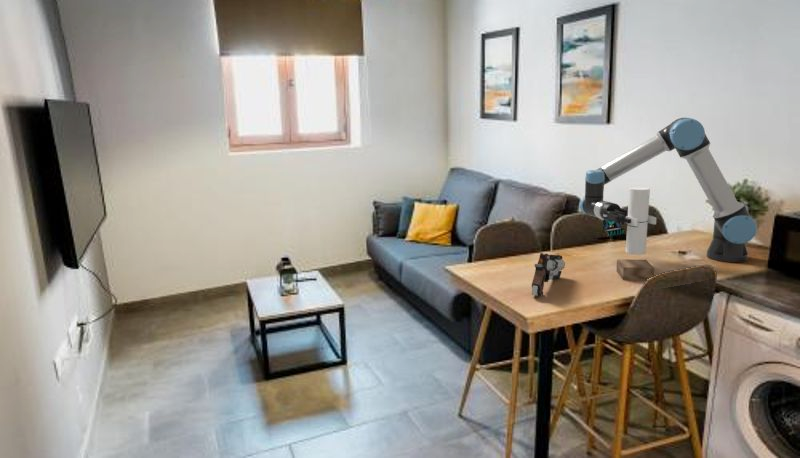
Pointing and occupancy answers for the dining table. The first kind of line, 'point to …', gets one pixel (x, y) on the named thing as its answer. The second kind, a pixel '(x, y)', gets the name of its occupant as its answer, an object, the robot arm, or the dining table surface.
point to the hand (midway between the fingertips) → (646, 221)
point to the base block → (634, 269)
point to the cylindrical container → (639, 210)
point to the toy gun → (546, 271)
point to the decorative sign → (613, 228)
